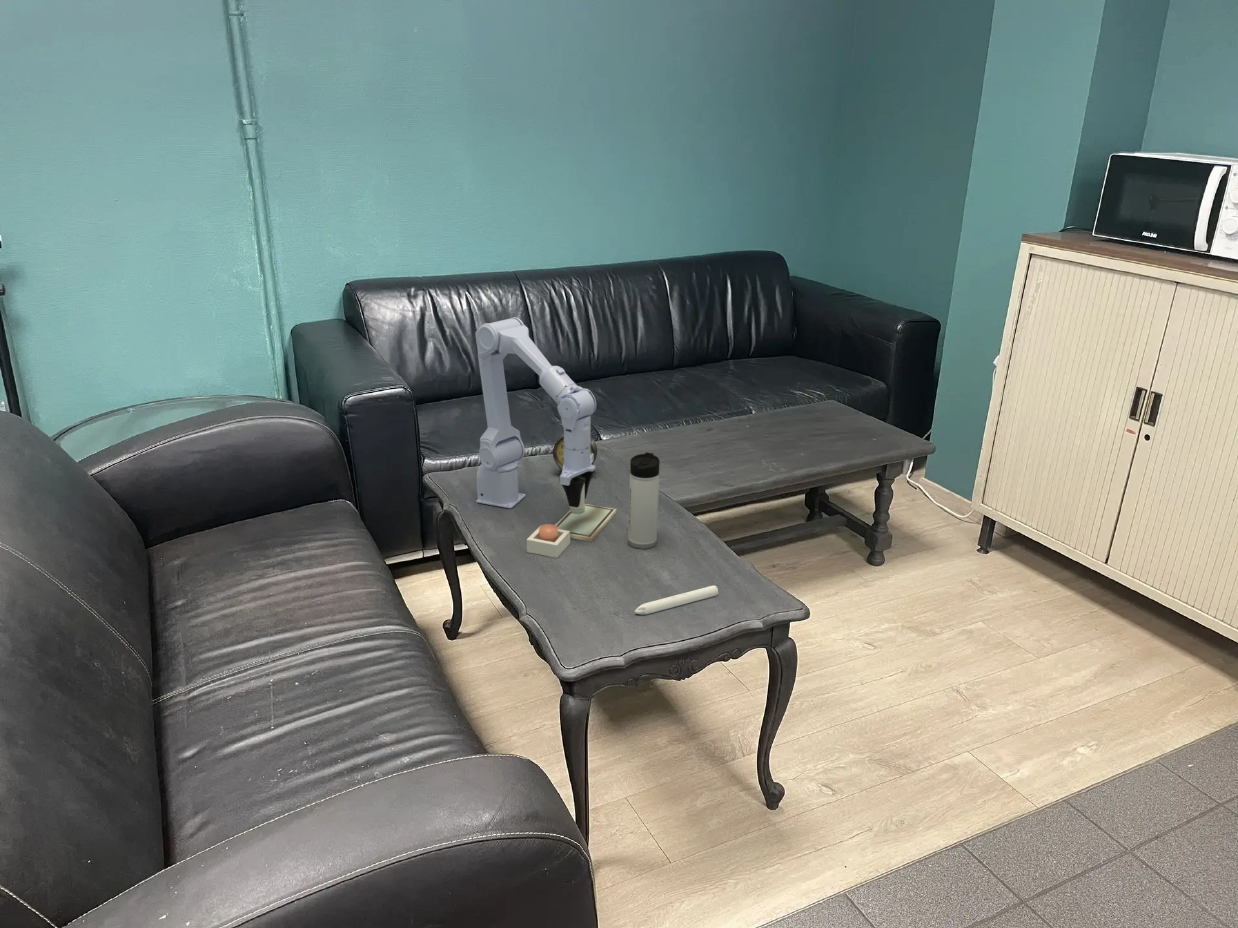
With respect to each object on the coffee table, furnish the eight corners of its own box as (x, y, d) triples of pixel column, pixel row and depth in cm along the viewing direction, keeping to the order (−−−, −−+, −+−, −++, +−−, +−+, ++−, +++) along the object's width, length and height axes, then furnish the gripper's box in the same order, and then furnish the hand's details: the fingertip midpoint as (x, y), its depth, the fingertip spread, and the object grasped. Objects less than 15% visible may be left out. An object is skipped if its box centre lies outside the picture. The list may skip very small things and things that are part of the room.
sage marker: (568, 512, 189) (567, 479, 186) (573, 506, 192) (573, 474, 189) (581, 515, 188) (581, 481, 185) (586, 509, 191) (586, 476, 188)
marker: (637, 619, 160) (637, 608, 159) (631, 613, 161) (632, 603, 160) (718, 597, 167) (718, 586, 166) (712, 592, 169) (712, 582, 168)
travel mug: (660, 538, 189) (664, 454, 182) (651, 551, 184) (655, 465, 176) (633, 533, 191) (636, 450, 184) (624, 546, 185) (626, 461, 178)
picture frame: (549, 533, 190) (549, 530, 190) (577, 505, 204) (577, 501, 204) (591, 541, 187) (591, 538, 187) (616, 512, 201) (616, 508, 201)
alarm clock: (552, 477, 220) (551, 417, 213) (557, 469, 225) (556, 410, 218) (594, 480, 218) (594, 420, 212) (598, 472, 223) (599, 413, 217)
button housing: (526, 551, 182) (526, 539, 181) (540, 537, 188) (540, 525, 187) (557, 557, 180) (556, 545, 179) (570, 543, 186) (569, 531, 185)
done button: (536, 543, 182) (535, 530, 181) (544, 535, 186) (543, 522, 185) (553, 546, 181) (553, 533, 180) (560, 538, 185) (560, 525, 184)
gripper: (581, 460, 177) (581, 519, 182) (606, 437, 189) (605, 493, 195) (550, 455, 179) (551, 513, 184) (577, 433, 192) (577, 488, 197)
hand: (577, 502), depth 190 cm, fingers closed on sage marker, 3 cm apart
